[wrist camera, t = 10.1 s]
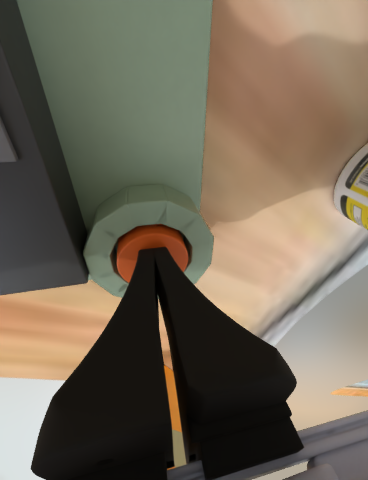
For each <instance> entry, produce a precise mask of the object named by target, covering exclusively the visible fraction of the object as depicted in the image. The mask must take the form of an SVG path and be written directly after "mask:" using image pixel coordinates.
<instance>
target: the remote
mask: <svg viewBox="0 0 368 480" xmlns="http://www.w3.org/2000/svg"><path fill="white" fill-rule="evenodd" d="M87 235H88V234H87V231H86V227H85V224H84V221H83V217H82V214H81V211H80V208H79V204H78V201H77V198H76V194H75V191H74V188H73V185H72V181H71V178H70V175H69V171H68V168H67V165H66V161H65V158H64V155H63V152H62V148H61V145H60V142H59V138H58V135H57V132H56V129H55V125H54V122H53V119H52V115H51V112H50V109H49V106H48V102H47V99H46V96H45V92H44V89H43V86H42V82H41V79H40V76H39V73H38V69H37V66H36V63H35V59H34V56H33V53H32V50H31V46H30V43H29V40H28V36H27V33H26V30H25V27H24V23H23V20H22V17H21V13H20V10H19V7H18V3H17V0H0V295H6V294H13V293H20V292H27V291H34V290H42V289H49V288H56V287H63V286H70V285H78V284H85V283H87V282H88V277H89V271H88V268H87V265H86V262H85V259H84V256H83V250H84V246H85V242H86V238H87Z"/></svg>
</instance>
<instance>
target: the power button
mask: <svg viewBox="0 0 368 480" xmlns="http://www.w3.org/2000/svg"><path fill="white" fill-rule="evenodd" d="M158 247H166V248H168V250H169V252H170V254H171V256H172V257H173V259H174V260H175V262H176V263H177V265H178V266H179V267H180V269H181V270H182V271H183V272H184V270H185V268H186V266H187V263H188V252H187V249H186V246H185V244H184V241H183V238H182V235H181V233H180V231H179V230H177V229H174V228H171V227H169V226H166V225H164V224H153V225H143V226H137V227H135V228H133V229H132V230H130V231H129V232H127V233H125V234H124V235H122V236H121V237H119V239H118V248H117V269H118V271H119V273H120V275H121V276H122V278H123V279H124V280H126V281H127V282H128V283H129V282H130V280H131V277H132V274H133V271H134V268H135V265H136V262H137V257H138V251H139V250H141V249H150V248H158Z"/></svg>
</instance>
